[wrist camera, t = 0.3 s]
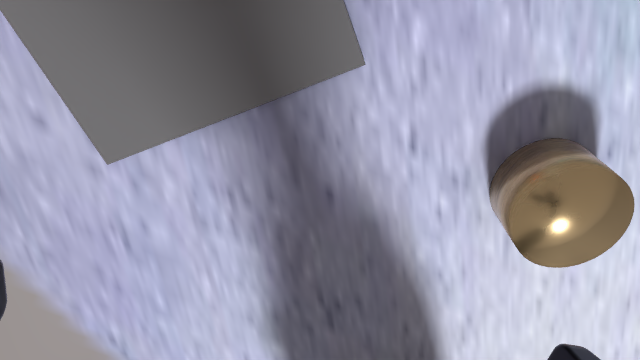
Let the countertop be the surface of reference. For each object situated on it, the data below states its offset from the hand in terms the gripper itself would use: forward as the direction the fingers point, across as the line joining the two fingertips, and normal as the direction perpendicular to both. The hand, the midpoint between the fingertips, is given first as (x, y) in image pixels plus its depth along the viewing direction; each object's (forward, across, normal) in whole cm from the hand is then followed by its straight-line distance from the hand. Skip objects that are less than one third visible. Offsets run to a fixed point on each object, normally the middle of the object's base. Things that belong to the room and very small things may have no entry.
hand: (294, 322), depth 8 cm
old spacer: (+14, -12, +3) cm, 19 cm away
